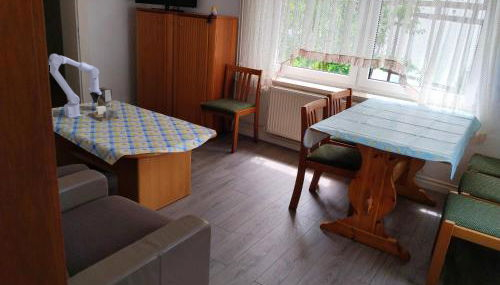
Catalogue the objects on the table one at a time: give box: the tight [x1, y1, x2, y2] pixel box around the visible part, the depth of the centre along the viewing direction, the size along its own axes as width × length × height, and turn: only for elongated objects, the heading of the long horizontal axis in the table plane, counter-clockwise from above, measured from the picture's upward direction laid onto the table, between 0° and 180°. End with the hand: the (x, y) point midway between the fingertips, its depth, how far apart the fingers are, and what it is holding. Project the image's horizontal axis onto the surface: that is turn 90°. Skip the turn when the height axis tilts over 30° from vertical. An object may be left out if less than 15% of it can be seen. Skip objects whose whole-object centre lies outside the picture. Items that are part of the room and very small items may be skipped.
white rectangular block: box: [93, 106, 106, 115], centre depth 277 cm, size 9×3×5 cm, turn 141°
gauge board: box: [87, 109, 120, 122], centre depth 277 cm, size 13×18×6 cm
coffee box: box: [97, 86, 113, 111], centre depth 294 cm, size 9×6×16 cm
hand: (95, 102), depth 281 cm, fingers closed
